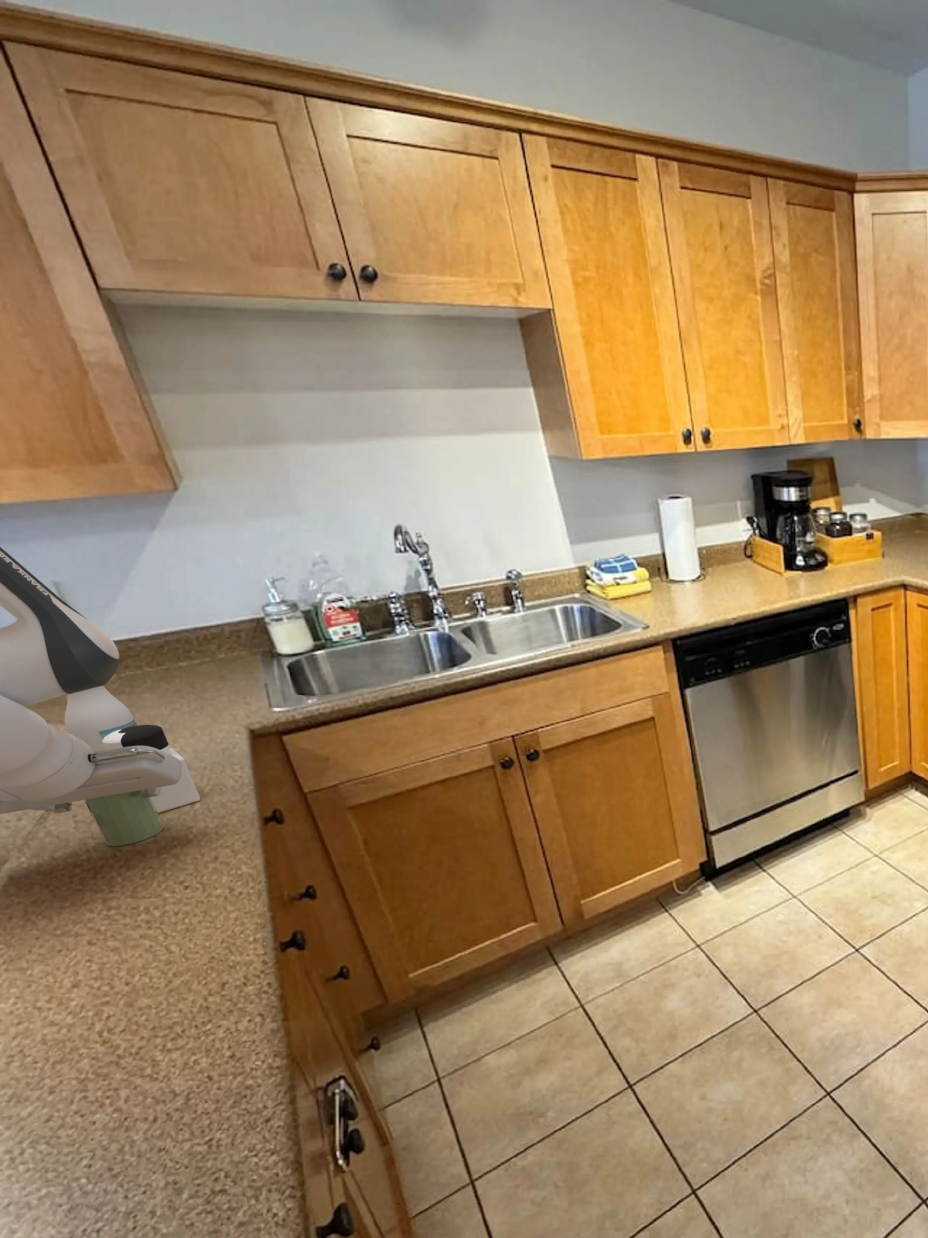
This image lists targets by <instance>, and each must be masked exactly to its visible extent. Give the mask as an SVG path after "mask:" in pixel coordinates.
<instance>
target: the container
mask: <svg viewBox="0 0 928 1238" xmlns="http://www.w3.org/2000/svg"><path fill="white" fill-rule="evenodd" d="M102 742H103V744H104V746H105V749H106V750H109V749H116V748H122V747H129V746H149V747H153V748H156V749H159V750H161V751H163V752H166V753H168V754H170V755H172V756H174V757H176V758H177V759H179V760H180V762H181V778H180V780H179V781H178V783H176V784H174V785H170V786H164V787H161V794H160V796H156V797H151V799H152V801H153V804H154V806H155V808H156V810H157V813H158V814H161V813H164V812H167V811H170V810H174V809H176V808H181V807H184V806H187V805H190V804H194V803H196V802H200V801H201V796H200V794H199V792H198V790H197V789H198V788H197V787H196V784H195V782H194V780H193V777H192V775H191V773H190V770H189V768H188V765H187V763H186V759H184V757H183V756H182V755H180V754H179V753H178V752H177V751H176V750H175V749H174V748H173V747H171V746H170V743H169V741H168V739H167V736H166V733H165V731H164V730H163V727H161V726H159V725H157V724H139V725H138V724H137V726H132V727H127V728H123V729H120V730H117V731H114V732H112V733H110V734H109V735H107V736H105V737H104V739H103V740H102Z"/></svg>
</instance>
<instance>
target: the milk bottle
mask: <svg viewBox="0 0 928 1238" xmlns="http://www.w3.org/2000/svg"><path fill="white" fill-rule="evenodd" d="M66 698H67V699H66V708H65V713H64V726H65V729H66V731H67V732H69V733H70V734H72V735H74V736H75V737H77V738H79V739H80V740H82V741H84V742H85V743H87V744H88V745H89V746H91V748H92V749H93V750H94V752H96V751H102V750H106V749H105V746H104V744H103V742H102V740H103V739H104V737H105V736H107V735H109V734H110V733H112V732H114V731H117V730H120V729H123V728H127V727H132V726H137V725H138V724H137V722H136V719H135V718H134V716H133V714H132V712H131V711H130V710H129V708H128V707H127V706H126V705H125V704H124V703H123V702H121V701H120V700H119V699H117V698H116V697H115V696H114V695H113V694H111V693H110V692H109V691H108V689H107V688H106V687H105V685H104V686H100V687H96V688H92V689H88V690H84V691H80V692H76V693H72V694H66Z"/></svg>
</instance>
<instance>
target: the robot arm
mask: <svg viewBox="0 0 928 1238" xmlns="http://www.w3.org/2000/svg"><path fill="white" fill-rule="evenodd" d="M0 606H1V607H2V608H3V609H4V610H6V612H8V613H9V614H10V615H12V616H13V617H14V618H15V621H14V622H13V623H11V624H8V625H5V626H1V627H0V815H3V814H4V815H5V814H9V813H10V814H11V813H15V812H16V813H17V812H21V811H28V810H30V811H42V812H43V811H44V812H47V811H49V812H51V813H52V814H55V815H57V814H64V813H68V812H71V811H72V810H73V807H72V806H73V803H74V802H81V801H85V800H87V799H93V798H99V797H105V796H111V795H116V794H122V793H128V792H134V791H140V795H141V796H144V797H145V798H149V797H156V796H160V794H161V787H164V786H170V785H174V784H176V783H178V781H179V780H180V778H181V762H180V760H179V759H177V758H176V757H174V756H172V755H170V754H168V753H166V752H163V751H161V750H159V749H156V748H153V747H149V746H129V747H122V748H116V749H109V750H102V751H96V752H94V750H93V749H92V748H91V746H89V745H88V744H87V743H85V742H84V741H82V740H80V739H79V738H77V737H75V736H74V735H72V734H70V733H69V732H67V730H65V729H64V728H62V727H61V726H58V725H56V724H53V723H51V722H47V721H46V720H45V719H44V718H43V716H41V715H40V714H38V713H37V712H35V711H33V710H31V709H30V708H28V707H32V706H35V705H38V704H40V703H43V702H46V701H49V700H53V699H56V698H59V697H61V696H65V695H67V694H72V693H76V692H80V691H84V690H88V689H92V688H96V687H100V686H104V687H105V686H106V685H107V684H108V683H109V681H110V680H111V679H112V677H113V676H115V673H116V672H117V670H118V668H119V666H120V663H121V661H122V655H121V653H120V651H119V649H118V646H117V645H116V644H115V642H114V641H113V639H112V638H111V637H110V636H109V634H107V633H106V632H105V631H104V630H103V629H101V628H100V627H99V626H98V625H96V623H94V622H92V621H90V620H89V619H88V618H87V617H86V616H84V615H83V614H81V613H80V612H79V611H77V610H76V609H75V608H73V606H70V604H68V603H67V602H66V601H64V600H63V599H62V598H61V597H59V595H57V594H56V593H54V591H52V590H51V589H50V588H49V587H48V586H46V585H45V583H43V582H42V581H40V580H39V579H38V578H37V576H35V575H34V574H33V573H31V572H30V571H29V570H28V569H27V568H25V567H24V566H23V564H21V563H20V562H18V561H17V560H16V559H15V558H14V557H13V556H11V554H9V553H8V552H7V551H6V550H5V549H3V548H2V547H1V546H0Z"/></svg>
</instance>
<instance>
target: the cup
mask: <svg viewBox="0 0 928 1238" xmlns="http://www.w3.org/2000/svg"><path fill="white" fill-rule="evenodd" d="M84 802H85V804H86V807H87V808H88V811H89V813H90V815H91V817H92V819H93V821H94V823H95V826H96V828H97V830H98V832H99V834H100V836H101V839H102V840H103V841H104V843H105V845H106V846H108V847H119V846H121V847H122V846H127V845H131V844H135V843H138V842H141V841H144V840H147V839H149V838H152V837H154V836H156V835H158V834H159V833H160V832H162V831H163V830H164V825H163V822H162V819H161V818H160V815H159V813H157V810H156V808H155V806H154V804H153V801H152V799H151V797H149V798H145V797H144V796H141V795H140V791H134V792H128V793H122V794H116V795H111V796H105V797H99V798H93V799H87V800H84Z"/></svg>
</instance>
